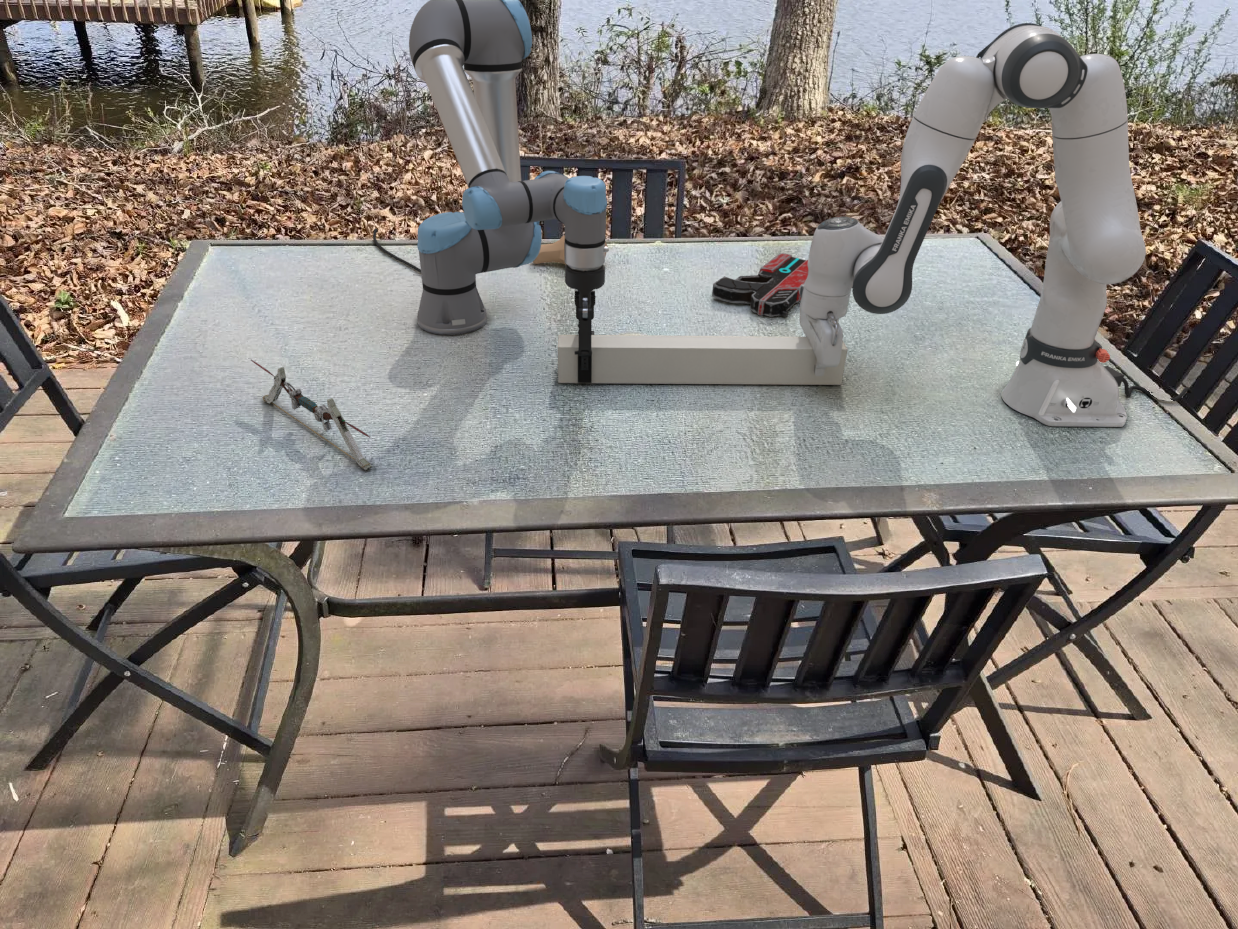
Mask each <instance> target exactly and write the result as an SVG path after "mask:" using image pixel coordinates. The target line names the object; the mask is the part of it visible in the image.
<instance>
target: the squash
mask: <svg viewBox="0 0 1238 929" xmlns="http://www.w3.org/2000/svg"><path fill="white" fill-rule="evenodd" d="M564 241H565V234H564V235H562V236H561V237H560V238H559V239H558V240H557V241H554V242H552V243H545V244H541V248H540V251H539V254H538V256H537V257H536V259H535V260H534V261H533V262H532V263H533V264H534V265H538V264H546V263H557V264H563V265H564V266H565V265H566V263H565V258H564ZM605 247H608V248H609V246H608V244H607V241H606V240H605ZM607 253H608V252H605V258H606V256H607Z"/></svg>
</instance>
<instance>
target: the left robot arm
mask: <svg viewBox="0 0 1238 929" xmlns="http://www.w3.org/2000/svg"><path fill="white" fill-rule="evenodd" d="M532 35H533V34H532V28H531V23H530V20H529V16H528V14H527V11H526V9H525V7H524V5H523V4H522V2H521V1H520V0H428V1H427V2H426V3H424V4H423V5H422V6H421V7H420V9H419V10H418V12H417V13H416V15H415V16H414V18H413V21H412V24H411V26H410V30H409V38H408V50H409V57H410V61H411V64H412V66H413V69H414V71H415V74H416V77H418V78H419V79H420V80H421V81H423V82H425V84H426V86H427V89H428V91H429V93H430V96H431V99H432V102H433V104H434V106H435V109H436V111H437V113H438V115H439V119H440V122H441V124H442V126H443V129H444V132H445V133H446V136H447V139H448V141H449V143H450V146H451V149H452V151H453V154H454V155H455V158H456V160H457V163H458V166H459V168H460V171H461V173H462V175H463V178H464V181H465V183H466V186H467V188H466V189H465V190H464V191H463V193H462V197H461V199H462V200H461V206H462V210H463V211H454V212H452V211H446V212H440V213H438V214H434V215H432V216H429V217H427V218H426V219H424V220H423V221H422V222H421V223H420V224H419V226H418V227H417V247H416V248H417V250H418V258H419V264H420V266H419V267H420V268H419V267H417V266H416V265H414V264H412V263H411V262H409V261H407V260H404V259H403V258H401V257H399V256H397V255H395V254H393V253H392V252H390V251H389V250H387V249H385V248H384V247H383V246H382V245H381V244H380V243H379V241H378V240H377V233H379V230H378V228H377V227H375V228H374V229H373V233H372V240H373V243H374V245H375V246H376V247H377V248H379V249H380V250H381V251H382V252H383V253H384V254H386V255H387V256H389V257H391V258H392V259H394V260H395V261H398V262H399V263H402V264H404V265H406V266H408V267H409V268H410V269H413V270H415V271H416V272H418V273H420V275H421V276H420V277H421V284H422V292H421V297H420V302H419V305H418V310H417V316H416V318H417V325H418V326H419V328H420V329H421V330H423V331H424V332H427V333H430V334H433V335H440V336H459V335H465V334H469V333H473V332H476V331H477V330H480V329H481V328H483V327H484V326H485V325H486V323H487V320H488V316H487V310H486V306H485V304H484V302H483V299H482V298H481V295H480V293H479V291H478V288H477V278H476V277H477V276H476V275H478V274H483V273H488V272H494V271H500V270H505V269H511V268H513V269H516V268H520V267H521V266H526V265H530V264H533V263H534V262H533V261H534V260H535V259H536V257H537V256H538V254H539V251H540V248H541V245H542V240H543V234H542V226H541V225H540V222H544V221H550V220H551V221H552V220H557V221H558V222H560V223H561V224H563V225H564V235H565V241H564V258H565V263H566V265H565V264H564V283H565V284H566V286H567V287H568V288H570V289H572V290H574V305H575V318H576V319H577V320H578V324H577V328H578V331H577V335H579V350H578V351H575V355H578V383H577V384H593V383H592V350H591V335H595V330H592V329H593V328H592V321H593V319H595V305H596V290H598V289H601V288H602V287H604V286H605V283H606V265H605V263H606V257H605V252H607V253H608V252H609V251H610V249H609V246H608V247H605V241H606V238H607V235H606V234H607V207H608V200H607V186H606V184H605V182H604V181H603V180H602V179H601V178H599V177H593V176H592V175H591V176H590V175H577V176H576V175H575V176H572V177H568V176H567V175H565V174H563V173H560V172H557V171H554V170H545V171H542V172H541V173H539V174H538V175H536V176H535V177H534V178H532V179H525V180H522V171H521V155H520V154H521V153H520V152H521V151H520V138H519V135H520V134H519V122H518V121H519V120H518V104H517V86H516V79H517V76H518V75H519V74H520V73H521V72H522V70H523V63H522V62H523V61H522V60H524V59H526V58H527V57H529V56H530V54H531V52H532V49H531V48H532V47H533V36H532ZM467 76H468V77H470V79H471V80H472V86H471V83H470V81H469V79H468V77H467Z"/></svg>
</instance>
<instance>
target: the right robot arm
mask: <svg viewBox="0 0 1238 929" xmlns="http://www.w3.org/2000/svg"><path fill="white" fill-rule="evenodd" d="M1005 100H1009V101H1010V102H1011V103H1013V104H1015V105H1017V106H1019V107H1022V108H1028V109H1049V114H1050V116H1051V137H1052V152H1053V153H1052V154H1053V166H1054V180H1055V184H1056V187H1057V190H1058V194H1059V198H1060V201H1059V202H1058V203H1057V204H1056V206H1055V207H1054V208H1053V210H1052V212H1051V214H1050V218H1049V238H1048V245H1047V251H1046V258H1045V264H1044V276H1043V281H1042V282H1043V283H1042V288H1041V293H1040V297H1039V301H1038V304H1037V306H1036V309H1035V313H1034V317H1033V320H1032V323H1031V326H1030V328H1028V329H1027V332H1026V334H1025V337H1024V339H1023V341H1022V345H1021V348H1020V352H1019V360H1018V361H1016V363H1015V369H1014V371H1013V373H1012V374H1011V377H1010V378H1009V380H1008V381H1007V384H1006V385H1005V386H1004V388H1003V389H1002V390H1001V393H1000V395H1001V399H1002V401H1003V402H1004V403H1005V404H1006V405H1008V407H1010V408H1011V409H1013V410H1015V411H1016V412H1019V413H1021V414H1023V415H1026V416H1028V417H1031V418H1033V419H1034V420H1037V421H1038V422H1040V423H1041V424H1043V425H1044V426H1047V427H1076V428H1077V427H1081V428H1082V427H1085V428H1087V427H1089V428H1091V427H1092V428H1093V427H1094V428H1122V427H1124V426H1125V424H1126V423H1127V418H1128V415H1127V414H1128V413H1127V410H1126V408H1125V406H1124V405H1123V403H1122V402H1121V401H1120V387H1121V385H1122V383H1123V386H1124V395H1125V396H1126V397H1131V395H1132V392H1133V391H1134V390H1135V391H1140V392H1143V393H1145V394H1147V396H1150V397H1152V398H1154V399H1156V400H1158V399H1157V398H1155V397H1154V396H1153V395H1151V394H1150V392H1149V391H1150V390H1149V391H1147V390H1146V389H1147V388H1146V389H1145V387H1143V386H1141V385H1140V386H1138V385H1131V386H1129V381H1128V380H1127V378H1125V374H1123V373H1121V372H1120V371H1118V370H1117V369H1114V368H1112V367H1110V366H1109V365H1103V364H1104V363H1107V362H1108V361H1110V359H1111V355H1110V354H1109V352H1108V351H1107V349H1104V348H1103V346H1102V345H1101V343H1100V342H1098V341H1097V339H1096V337H1097V333H1098V331H1099V329H1100V326H1101V322H1102V320H1103V317H1104V315H1105V312H1106V308H1107V304H1108V297H1107V296H1108V295H1107V285H1116V284H1120V283H1123V282H1125V281H1127V280H1128V279H1130V278H1131V277H1133V276H1134V275H1135V274H1136V273H1138V271H1139V270H1140V268H1141V267H1142V265H1143V264H1144V261H1145V258H1146V254H1147V248H1146V247H1147V246H1146V244H1145V240H1144V237H1143V233H1142V230H1141V229H1142V228H1141V224H1140V215H1139V210H1138V204H1137V198H1136V194H1135V188H1134V184H1133V179H1132V173H1131V166H1130V151H1129V150H1130V149H1129V148H1130V147H1129V121H1128V120H1129V116H1128V102H1127V95H1126V89H1125V83H1124V79H1123V74H1122V71H1121V67H1120V64H1119V63H1118V61H1117V60H1116V59H1115V58H1114V57H1113V56H1111V55H1108V54H1103V53H1088V54H1083V55H1079V53H1078V52H1077V51H1076V49H1075V47H1073V45H1072V44H1071V43H1070V42H1069V41H1068V40H1067V39H1065V38H1064V37H1062V36H1061V35H1060V34H1059V33H1058V32H1057V31H1055V30H1053V29H1052V28H1049V27H1047V26H1042V25H1040V24H1038V23H1034V22H1033V23H1032V22H1024V23H1018V24H1015V25H1012V26H1009V28H1006V29H1005V30H1003V31H1002V32H1000V34H999V35H998V36H996V37H995V38H994V39H993V40H992V41H991V42H990V43H989V44H988V45H987V46H985V47H984V48H982V50H980V51H979V52H978V53H977V55H976V56H971V55H959V56H954V57H952V58H950V59H947V60H946V61H945V62H944V63H943V64H942V65H941V67H940V68H939V69H938V71H937V72H936V74H935V75H934V77H933V78H932V80H931V82H930V84H929V85H928V87H927V88H926V91H925V92H924V94H923V96H922V98H921V100H920V102H919V104H918V105H917V108H916V109H915V112H914V114H913V116H912V119H911V121H910V122H909V126H908V129H907V132H906V134H905V138H904V142H903V145H902V149H901V152H900V190H899V196H898V201H897V205H896V208H895V211H894V213H893V215H892V218H891V220H890V222H889V224H888V227H887V229H886V231H885V232H886V233H885V234H884V236H883V235H880V234H877V233H875V232H874V231H871V230H870V229H868V228H867V227H865V226H864V225H863V224H861V223H860V221H859V220H858V219H856V218H855V217H849V216H835V217H830V218H828V219H825V220H823V221H822V222H820V223H819V224H818V226H817V227H816V228H815V230H814V233H813V235H812V238H811V243H810V248H809V253H808V258H807V260H808V277H807V279H806V281H805V284H801V286H800V291H799V294H800V296H801V300H800V301H799V302H800V304H799V315H798V316H799V317H798V318H799V326H800V328H801V329H802V332H803V334H804V337H807V338H808V341H809V343H810V345H811V347H812V349H813V352H814V354H815V356H816V358H817V363H816V365H815V366H814V373H815V375H816V376H823V375H824V372H825V368H826V367H837V366H838V364H839V363H840V358H841V351H842V342H844V331H843V328H842V326H841V325H840V323H839V321H840V319H841V318H842V319H843V318H844V317H845V316H846V315H847V314H848V310H849V304H850V298H851V293H852V297H853V299H854V302H855V303H856V304H857V306H858V307H859V308H861V309H862V310H864V311H865V312H868V313H870V314H875V315H886V314H891V313H893V312H895V311H897V310H899V309H900V308H902V307H903V306H904V305H905V304H906V303H907V302H908V300H909V299H910V296H911V294H912V290H913V269H914V265H915V261H916V259H917V255H918V253H919V252H920V249H921V247H922V244H923V242H924V240H925V238H926V236H927V233H928V231H929V229H930V226H931V224H932V222H933V219H934V217H935V215H936V213H937V210H938V208H939V206H940V204H941V202H942V200H943V199H944V197H945V195H946V193H947V192H948V190H949V188H950V186H951V184H952V183H953V181H954V179H955V178H956V176H957V174H958V172H959V171H960V169H961V167H962V166H963V164H964V162H965V160H966V158H967V157H968V155H969V153H970V151H971V150H972V147H973V145H974V143H975V141H976V139H977V137H978V135H979V132H980V131H981V129H982V126H983V124H984V121H985V119H987V118H988V116H989V114H990V113H991V112H992V111H993V110H994V109H995V108H996V107H997V106H998V105H999V104H1001V103H1003V102H1004V101H1005ZM1151 393H1154V392H1153V391H1151ZM1186 393H1188V394H1193V390H1192V389H1191V388H1190V387H1184V388H1183V389H1182V390H1181V392H1180V393H1179V394H1178V395H1176V396H1174V397H1169V398H1170V399H1171V400H1173V401H1174V402H1177V401H1179V400H1181V399H1182V398H1183V397H1184V396H1185V395H1186Z"/></svg>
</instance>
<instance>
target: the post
mask: <svg viewBox="0 0 1238 929" xmlns="http://www.w3.org/2000/svg"><path fill="white" fill-rule="evenodd" d="M578 350H579V334H558V335H557V382H558V384H579V383H578V355H575V351H578ZM591 350H592V383H591V384H630V385H631V384H643V385H645V384H646V385H647V384H648V385H650V384H651V385H653V384H655V385H788V386H789V385H801V386H803V385H804V386H805V385H810V386H813V385H814V386H815V385H817V386H841V385H842V383H843V377H844V372H845V366H846V361H847V358H848V357H847V356H848V351H849V349H848V347H847V345H846V343H845V342H844V341H843V342H842V351H841V358H840V363H839V364H838V366H837V367H826V368H825V372H824V375H823V376H816V375H815V373H814V366H815V365H816V363H817V358H816V356H815V354H814V352H813V349H812V347H811V345H810V343H809V341H808V338H807V337H806V336H783V335H781V336H778V335H777V336H776V335H775V336H772V335H770V336H767V335H766V336H765V335H759V336H758V335H661V334H659V335H657V334H655V335H651V334H649V335H648V334H647V335H646V334H644V335H643V334H594V335H591Z"/></svg>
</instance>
